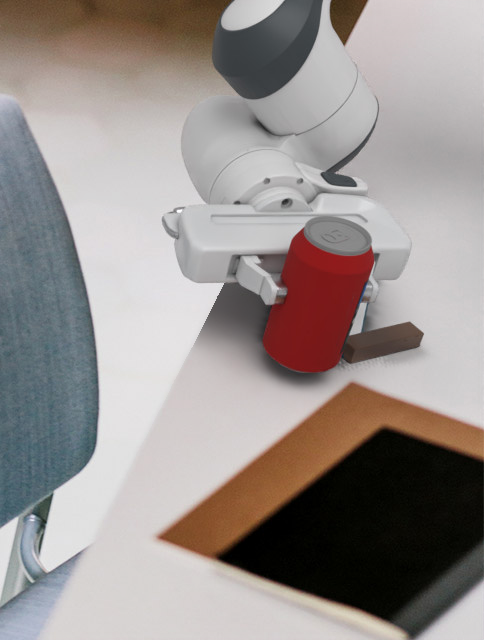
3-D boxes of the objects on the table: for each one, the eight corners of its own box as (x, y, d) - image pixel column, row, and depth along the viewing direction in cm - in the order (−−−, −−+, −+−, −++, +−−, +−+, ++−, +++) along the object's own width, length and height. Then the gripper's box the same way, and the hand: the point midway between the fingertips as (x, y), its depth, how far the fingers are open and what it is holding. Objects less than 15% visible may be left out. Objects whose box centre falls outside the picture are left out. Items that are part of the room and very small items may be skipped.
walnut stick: (404, 334, 108) (409, 320, 107) (419, 346, 107) (424, 333, 106) (335, 351, 105) (340, 337, 104) (349, 364, 103) (354, 350, 102)
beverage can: (354, 366, 101) (399, 244, 93) (300, 389, 98) (341, 264, 90) (298, 324, 105) (335, 204, 97) (243, 345, 101) (278, 222, 94)
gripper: (162, 177, 102) (211, 265, 92) (379, 178, 107) (449, 262, 97) (149, 241, 106) (195, 332, 96) (359, 239, 111) (423, 326, 101)
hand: (324, 297), depth 96 cm, fingers closed on beverage can, 6 cm apart
